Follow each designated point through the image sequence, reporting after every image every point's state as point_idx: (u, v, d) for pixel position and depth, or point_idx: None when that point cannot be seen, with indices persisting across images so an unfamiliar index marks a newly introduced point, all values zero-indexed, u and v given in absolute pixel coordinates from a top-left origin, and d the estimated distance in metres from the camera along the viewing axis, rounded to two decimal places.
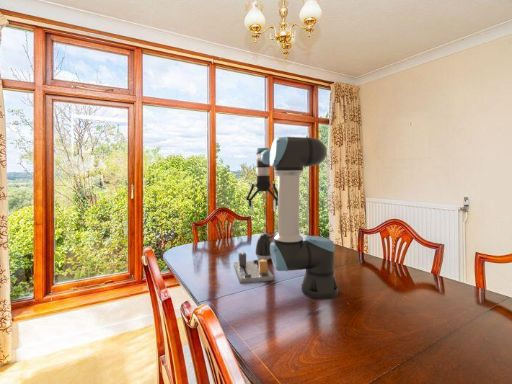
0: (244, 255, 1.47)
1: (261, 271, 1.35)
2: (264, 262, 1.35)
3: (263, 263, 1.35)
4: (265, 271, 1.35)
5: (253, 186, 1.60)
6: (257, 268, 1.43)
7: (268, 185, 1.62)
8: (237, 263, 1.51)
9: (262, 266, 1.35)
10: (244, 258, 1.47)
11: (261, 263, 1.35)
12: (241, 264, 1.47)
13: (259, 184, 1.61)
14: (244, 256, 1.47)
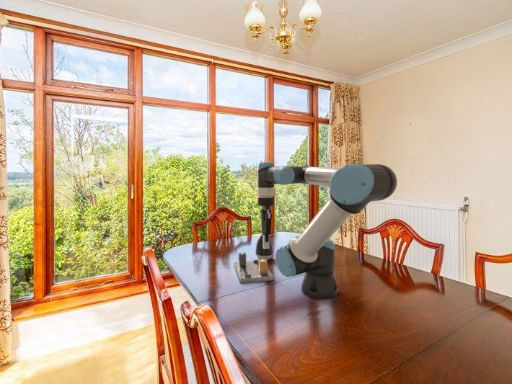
0: (244, 255, 1.47)
1: (261, 271, 1.35)
2: (264, 262, 1.35)
3: (263, 263, 1.35)
4: (265, 271, 1.35)
5: (261, 212, 1.32)
6: (257, 268, 1.43)
7: (265, 210, 1.24)
8: (237, 263, 1.51)
9: (262, 266, 1.35)
10: (244, 258, 1.47)
11: (261, 263, 1.35)
12: (241, 264, 1.47)
13: (262, 206, 1.30)
14: (244, 256, 1.47)
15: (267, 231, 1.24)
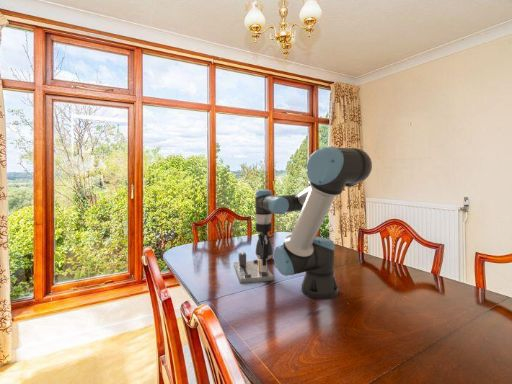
0: (244, 255, 1.47)
1: None
2: None
3: None
4: None
5: (258, 236, 1.38)
6: (257, 268, 1.43)
7: (262, 236, 1.30)
8: (237, 263, 1.51)
9: None
10: (244, 258, 1.47)
11: None
12: (241, 264, 1.47)
13: (259, 231, 1.36)
14: (244, 256, 1.47)
15: (264, 256, 1.30)
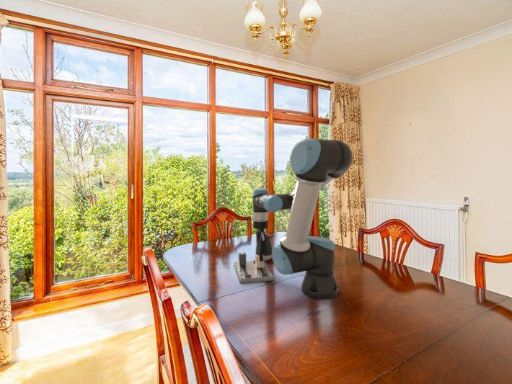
0: (244, 255, 1.47)
1: (257, 265, 1.43)
2: None
3: None
4: None
5: None
6: (257, 268, 1.43)
7: (259, 233, 1.37)
8: (237, 263, 1.51)
9: None
10: (244, 258, 1.47)
11: (257, 258, 1.43)
12: (241, 264, 1.47)
13: (257, 228, 1.42)
14: (244, 256, 1.47)
15: (261, 252, 1.37)
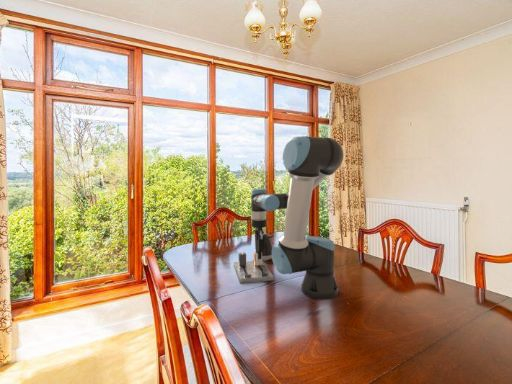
0: (244, 255, 1.47)
1: None
2: None
3: None
4: None
5: None
6: (257, 268, 1.43)
7: (258, 231, 1.41)
8: (237, 263, 1.51)
9: None
10: (244, 258, 1.47)
11: None
12: (241, 264, 1.47)
13: (255, 227, 1.46)
14: (244, 256, 1.47)
15: (260, 250, 1.41)
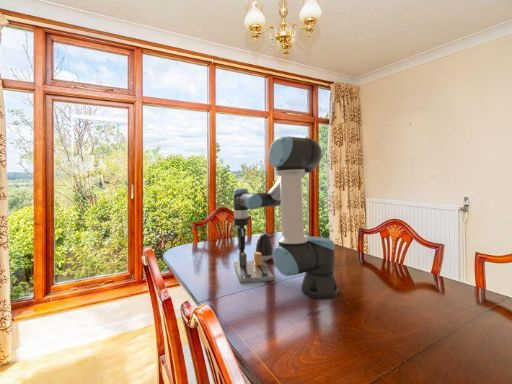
0: (244, 256, 1.46)
1: (256, 263, 1.47)
2: (259, 254, 1.47)
3: (258, 255, 1.47)
4: (260, 263, 1.48)
5: None
6: (257, 268, 1.43)
7: (239, 229, 1.48)
8: (237, 263, 1.51)
9: (257, 258, 1.47)
10: (244, 259, 1.46)
11: (256, 255, 1.47)
12: (241, 265, 1.46)
13: (238, 225, 1.53)
14: (244, 257, 1.46)
15: (242, 247, 1.47)
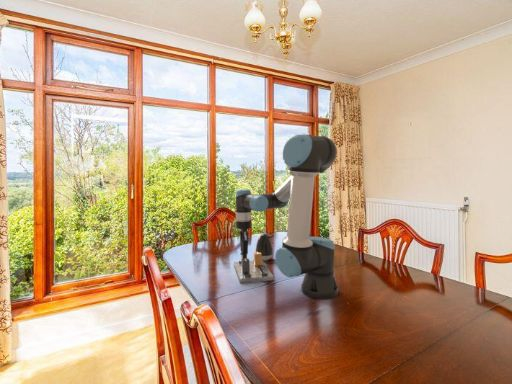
0: (247, 261, 1.37)
1: (256, 263, 1.47)
2: (259, 254, 1.47)
3: (258, 255, 1.47)
4: (260, 263, 1.48)
5: None
6: (257, 268, 1.43)
7: (242, 233, 1.38)
8: (237, 263, 1.51)
9: (257, 258, 1.47)
10: (247, 265, 1.37)
11: (256, 255, 1.47)
12: (244, 271, 1.37)
13: None
14: (247, 262, 1.37)
15: (244, 251, 1.38)
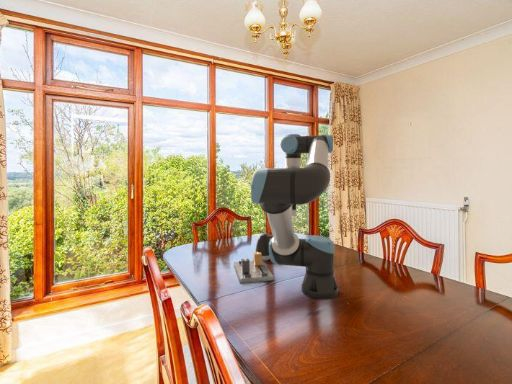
0: (247, 261, 1.37)
1: (256, 263, 1.47)
2: (259, 254, 1.47)
3: (258, 255, 1.47)
4: (260, 263, 1.48)
5: None
6: (257, 268, 1.43)
7: None
8: (237, 263, 1.51)
9: (257, 258, 1.47)
10: (247, 265, 1.37)
11: (256, 255, 1.47)
12: (244, 271, 1.37)
13: None
14: (247, 262, 1.37)
15: None
